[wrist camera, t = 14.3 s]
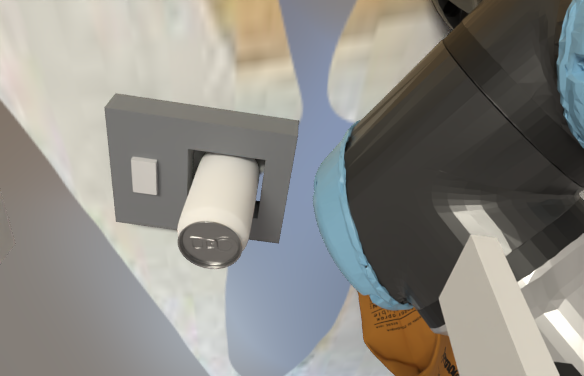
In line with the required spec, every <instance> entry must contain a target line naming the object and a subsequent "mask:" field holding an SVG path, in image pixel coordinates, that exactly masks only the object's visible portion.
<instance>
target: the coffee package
mask: <svg viewBox="0 0 584 376" xmlns="http://www.w3.org/2000/svg"><path fill="white" fill-rule="evenodd" d="M357 292H358V291H357ZM358 295H359V304H360V311H361V318H362V330H363V339H364V342H365V344H366V345H367V347H368V348H369V349H370V351H371V352H372V353H373V354H374V355H375V356H376V357H377V358H378V359H379V360H380V361H381V362H382V363H383V364H384V365H385V366H386V367H387V368H388V369H389V370H390V371H391V372H392V373H393V374H394V375H395V376H460V375H459V372H458V368H457V364H456V361H455V357H454V353H453V350H452V346H451V342H450V339H449V336H447V335H442V334H437V333H434V332H433V331H432V330H431V329H430V328H429V326H428V325H427V324H426V322H425V321H424V320H423V318H422V317H421V315H420V314H419V313H418V311H417V310H416V309H415V308H414V307H413V308H411V309H408V310H395V311H392V310H387V309H384V308H381V307H379V306H378V305H376V304H374V303H372V301H371V299H370V296H369V295H362V294H361V293H359V292H358Z"/></svg>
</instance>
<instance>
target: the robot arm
mask: <svg viewBox="0 0 584 376" xmlns="http://www.w3.org/2000/svg"><path fill="white" fill-rule="evenodd" d="M432 2H433V4H434V6H435V8H436V9H437V11H438V12H439V14H440V15H441V17H442V18H443V20H444V21H445V22H446V23H447V25H448V26H449V27H450V28H451V29H452V30H453V31H452V32H451V33H450V34H449V35H448V36H447V37H446V38H445V39H443V40H441V41H440V42H439V43H438V44H437V45H436V46H435V47H434V48H433V49H432V50H431V51H430V52H429V53H428V54H427V55H426V56H425V57H424V58H423V59H422V60H421V61H420V62H419V63H418V64H417V65H416V66H415V67H414V68H413V69H412V70H411V71H410V72H409V73H408V74H407V75H406V76H405V77H404V78H403V79H402V80H401V81H400V82H399V83H398V84H397V85H396V86H395V87H394V88H393V89H392V90H391V91H390V92H389V93H388V94H387V95H386V96H385V97H384V98H383V99H382V100H381V101H380V102H379V103H378V104H377V105H376V106H375V107H374V108H373V109H372V110H371V111H370V112H369V113H368V114H367V115H366V116H365V117H364V118H363V119H362V120H361V121H360V120H359V121H357V122H356V123H354V124H353V125H352V126H351V127H350V128H349V129H348V130H347V132H346V134H345V135H344V137H343V139H342V141H341V142H340V143H339V144H338V145H337V146H336V147H335V149H334V150H333V151H332V152H331V153H330V154H329V155H328V156H327V157H326V159H325V160H324V161H323V162H322V163H321V165H320V167H319V169H318V171H317V173H316V176H315V180H314V191H315V192H314V196H313V206H314V212H315V217H316V221H317V225H318V227H319V231H320V234H321V236H322V239H323V241H324V243H325V245H326V247H327V249H328V251H329V253H330V255H331V257H332V258H333V260H334V262H335V263H336V265H337V267H338V268H339V270H340V271H341V272H342V274H343V275H344V276H345V278H346V279H347V280H348V281H349V282H350V283H351V285H352V286H353V287H354V288H355V289H356V290H357V291H358V292H359V293H361V294H362V295H369V296H370V299H371V301H372V303H374V304H376V305H378V306H379V307H381V308H384V309H387V310H392V311H395V310H408V309H411V308H413V307H414V308H415V309H416V310H417V311H418V313H419V314H420V315H421V317H422V318H423V320H424V321H425V322H426V324H427V325H428V326H429V328H430V329H431V330H432V331H433V332H434V333H437V334H442V335H447V336H449V339H450V342H451V346H452V350H453V353H454V357H455V361H456V364H457V368H458V372H459V375H460V376H584V200H583V199H582V198H581V197H580V196H579V193H580V192H581V191H582V190H584V0H432ZM15 244H16V243H15V240H14V236H13V233H12V229H11V226H10V222H9V219H8V215H7V211H6V208H5V204H4V201H3V197H2V193H1V190H0V264H1V263H2V261H3V260H4V259H5V257H6V256H7V255H8V253H9V252H10V250H11V249H12V248H13V246H14V245H15Z"/></svg>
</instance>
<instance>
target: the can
mask: <svg viewBox="0 0 584 376" xmlns="http://www.w3.org/2000/svg"><path fill="white" fill-rule="evenodd" d="M258 182H259V168H258V165H257V162H256V161H255V159H254V158H248V157H241V156H234V155H227V154H220V153H213V152H206V153H205V154H204V156H203V157H202V159H201V161H200V163H199V166H198V169H197V171H196V174H195V177H194V180H193V182H192V185H191V188H190V191H189V194H188V196H187V199H186V202H185V205H184V208H183V211H182V213H181V216H180V219H179V223H178V228H177V231H178V247H179V250H180V252H181V253H182V255H183V256H184V257H185V258H186V259H187V260H189V261H190V262H191V263H193V264H195V265H197V266H200V267H204V268H209V269H220V268H225V267H228V266H230V265H232V264H234V263H235V262H236V261H237V260H238V259H239V257H240V256H241V253H242V251H243V250H244V249H245V247H246V245H247V242H248V240H249V235H250V230H251V224H252V218H253V212H254V206H255V200H256V194H257V188H258Z"/></svg>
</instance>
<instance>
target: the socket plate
mask: <svg viewBox="0 0 584 376" xmlns="http://www.w3.org/2000/svg"><path fill="white" fill-rule="evenodd" d="M105 117H106V127H107V136H108V146H109V156H110V166H111V176H112V186H113V196H114V206H115V216H116V222H122V223H129V224H137V225H144V226H152V227H159V228H167V229H174V230H177V228H178V223H179V219H180V216H181V213H182V211H183V208H184V205H185V202H186V199H187V196H188V194H189V191H190V188H191V185H192V182H193V159H194V150H199V151H206V152H213V153H220V154H227V155H234V156H241V157H248V158H255V159H262V160H266V161H265V168H264V176H263V183H262V190H261V199H260V201H255V206H254V212H253V218H252V224H251V230H250V235H249V239H250V240H257V241H265V242H272V243H279V239H280V234H281V228H282V222H283V216H284V211H285V205H286V200H287V194H288V188H289V183H290V177H291V172H292V166H293V160H294V155H295V149H296V143H297V137H298V124H299V121H297V120H290V119H284V118H277V117H270V116H264V115H257V114H250V113H243V112H237V111H230V110H223V109H216V108H210V107H203V106H196V105H190V104H183V103H176V102H169V101H163V100H156V99H149V98H142V97H136V96H129V95H122V94H115V95H114V96H113V97H112V99H111V100H110V101H109V103H108V104H107V105H106V106H105Z"/></svg>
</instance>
